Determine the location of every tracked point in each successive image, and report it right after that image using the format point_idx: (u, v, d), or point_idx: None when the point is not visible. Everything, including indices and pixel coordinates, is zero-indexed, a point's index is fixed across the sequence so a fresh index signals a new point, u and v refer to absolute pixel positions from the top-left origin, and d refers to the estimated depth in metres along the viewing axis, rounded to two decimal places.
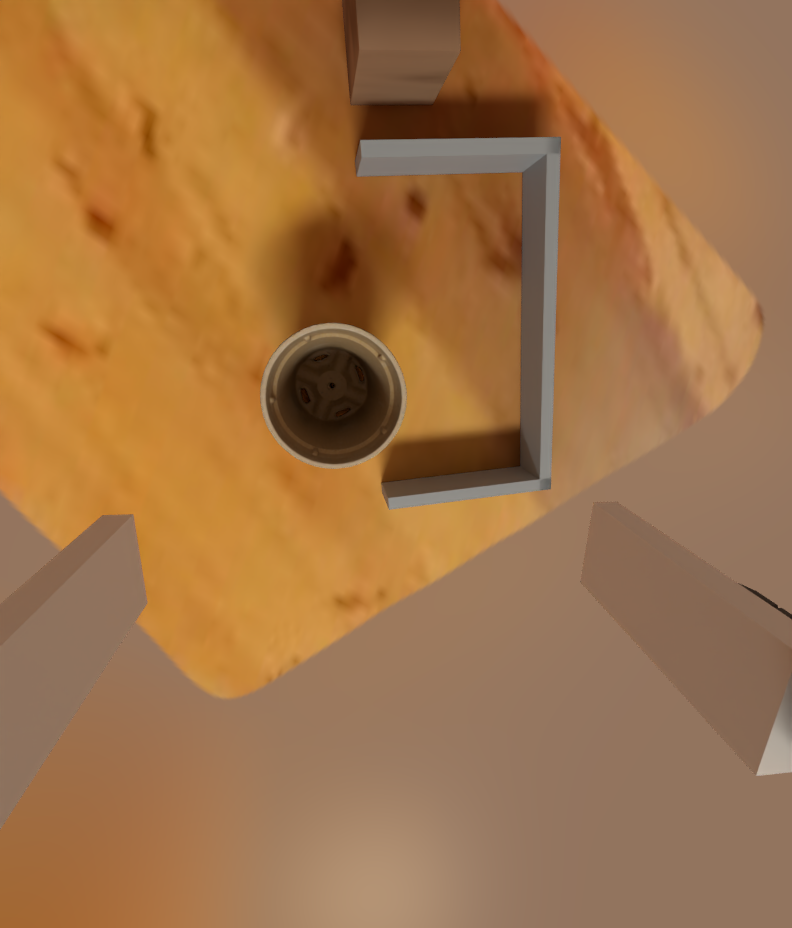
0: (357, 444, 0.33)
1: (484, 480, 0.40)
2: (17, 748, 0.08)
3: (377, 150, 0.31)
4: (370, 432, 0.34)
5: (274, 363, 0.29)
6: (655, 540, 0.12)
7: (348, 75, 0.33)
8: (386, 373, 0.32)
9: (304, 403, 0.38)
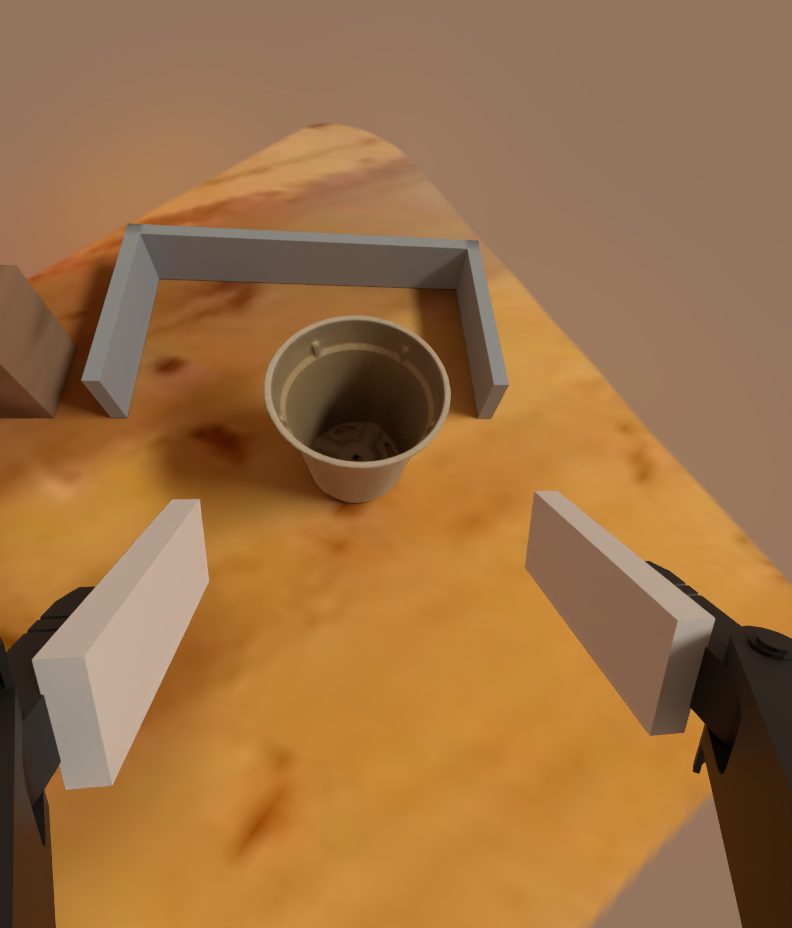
0: (422, 387, 0.26)
1: (471, 303, 0.35)
2: (132, 695, 0.09)
3: (96, 365, 0.28)
4: (408, 379, 0.27)
5: (307, 448, 0.22)
6: (581, 524, 0.12)
7: (24, 416, 0.30)
8: (336, 351, 0.27)
9: None
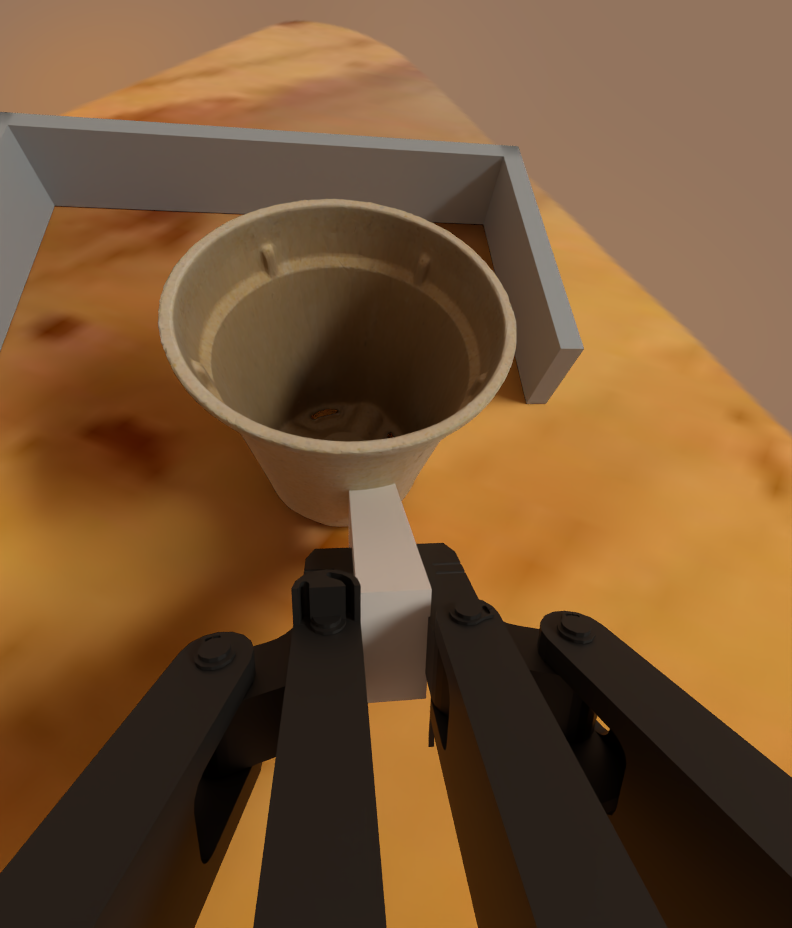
0: (454, 325, 0.15)
1: (511, 234, 0.24)
2: None
3: None
4: (428, 317, 0.16)
5: None
6: (386, 509, 0.13)
7: None
8: (306, 269, 0.16)
9: None
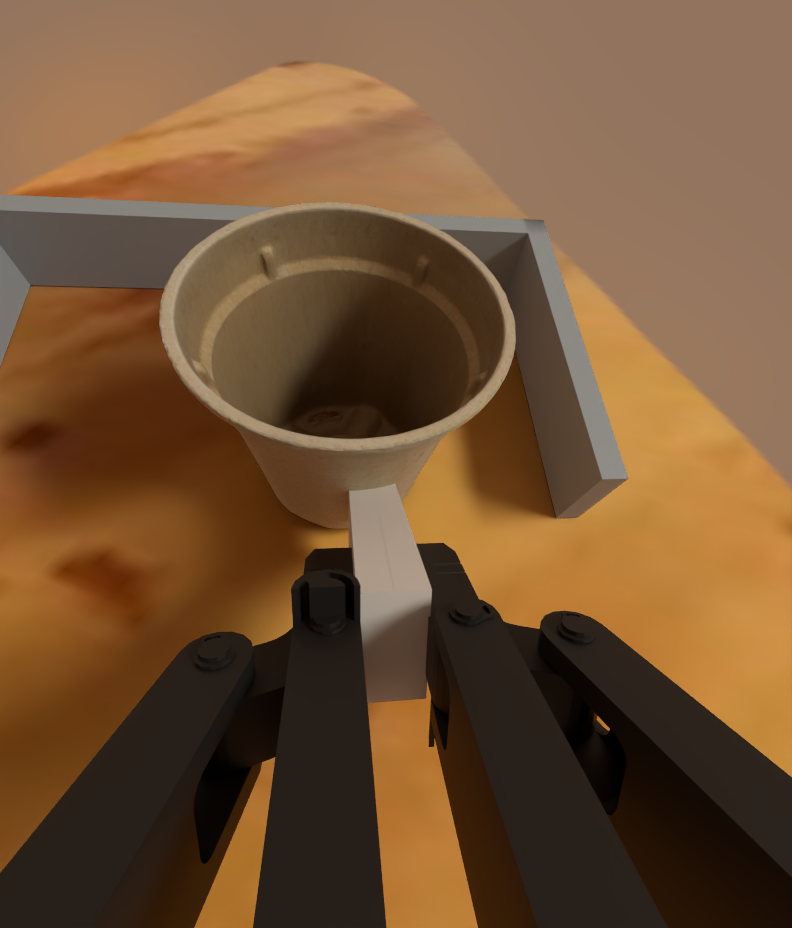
0: (452, 326, 0.16)
1: (537, 322, 0.22)
2: None
3: None
4: (427, 319, 0.17)
5: None
6: (386, 509, 0.13)
7: None
8: (305, 271, 0.16)
9: None
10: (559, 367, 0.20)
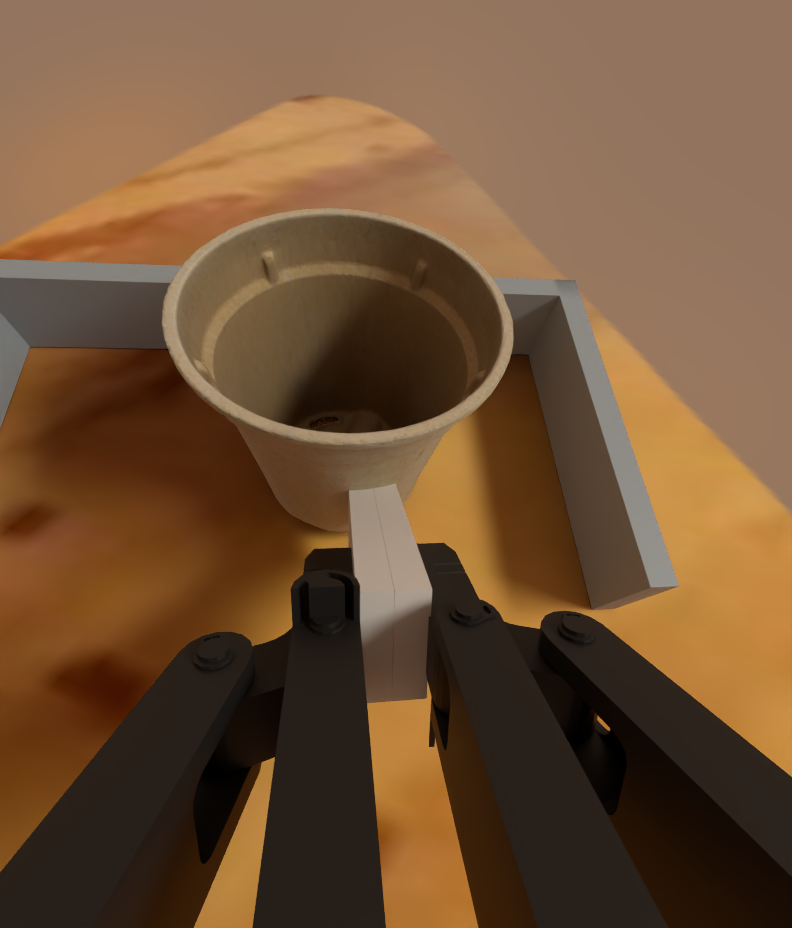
0: (451, 328, 0.16)
1: (570, 393, 0.20)
2: None
3: None
4: (426, 322, 0.17)
5: None
6: (386, 509, 0.13)
7: None
8: (305, 276, 0.16)
9: None
10: (597, 449, 0.18)
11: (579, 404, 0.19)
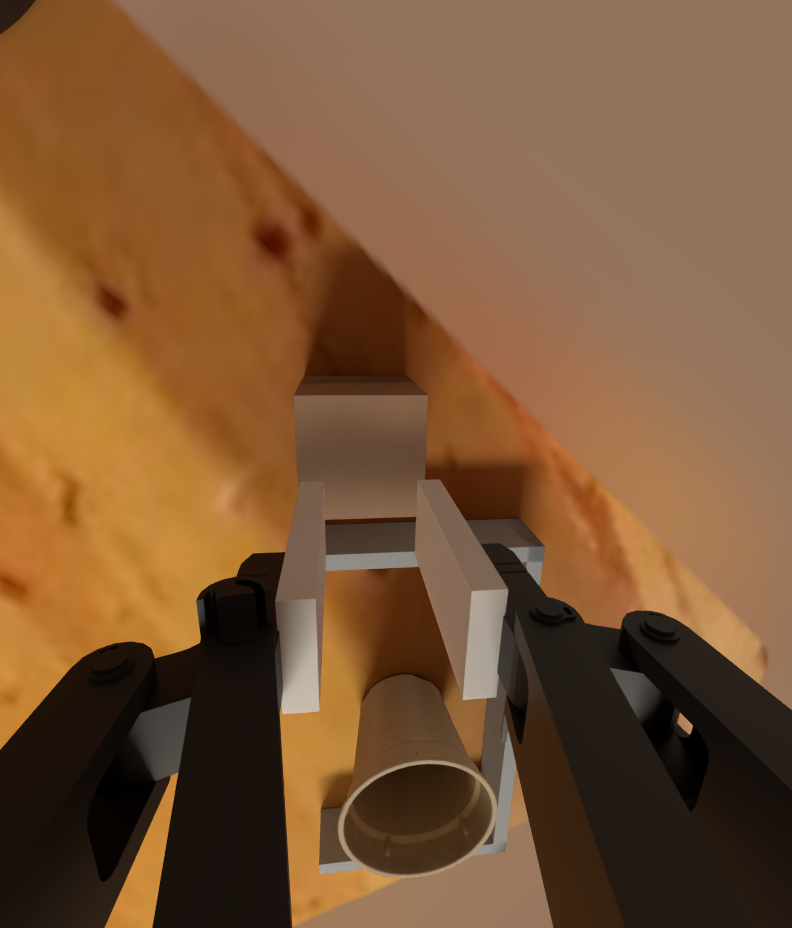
0: (433, 829, 0.30)
1: None
2: (320, 640, 0.10)
3: (326, 564, 0.26)
4: (447, 809, 0.31)
5: None
6: (441, 509, 0.13)
7: None
8: None
9: None
10: None
11: None
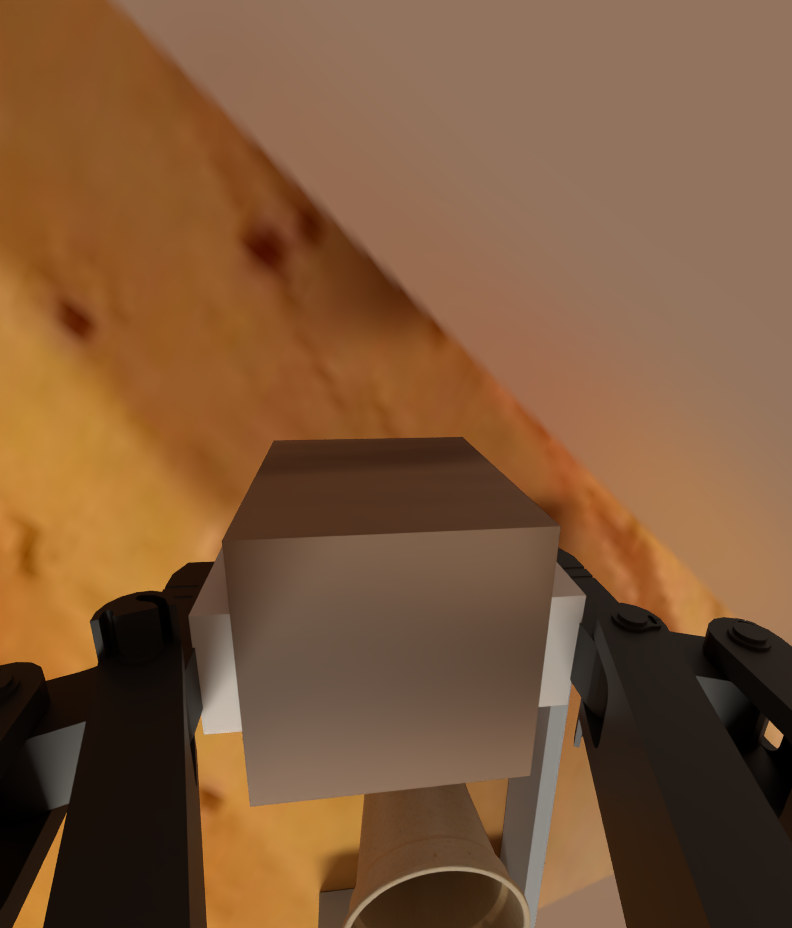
0: None
1: None
2: None
3: None
4: (467, 910, 0.26)
5: None
6: None
7: None
8: None
9: None
10: None
11: None
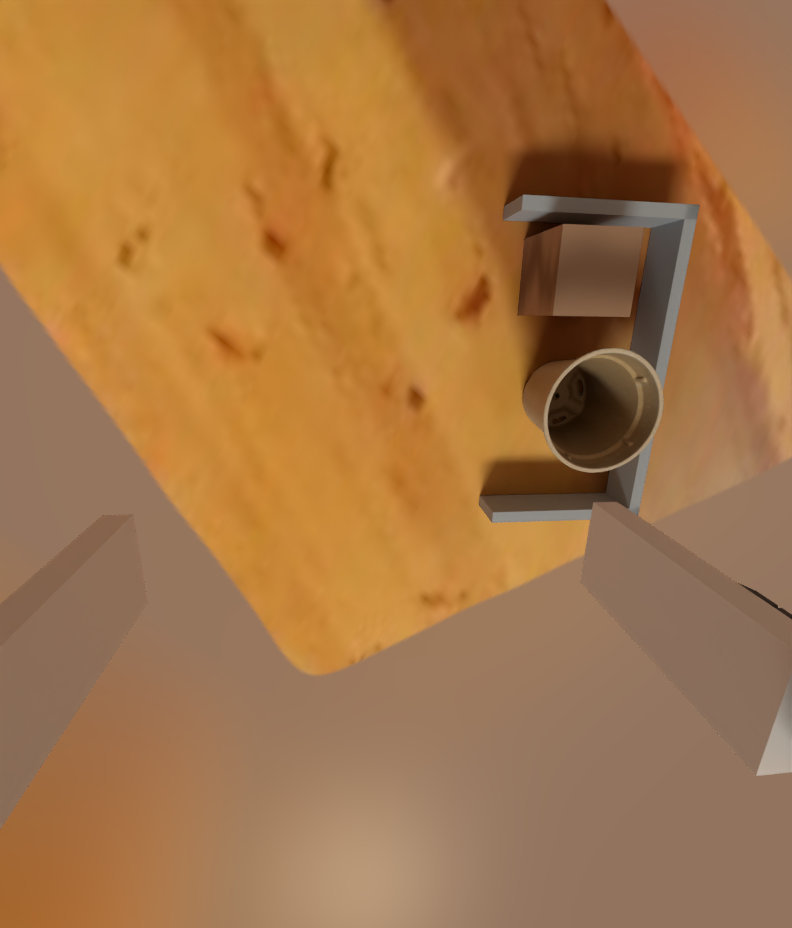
0: (599, 452, 0.38)
1: (577, 504, 0.44)
2: (17, 748, 0.08)
3: (536, 204, 0.34)
4: (608, 442, 0.39)
5: (561, 378, 0.34)
6: (655, 540, 0.12)
7: (520, 294, 0.40)
8: (638, 393, 0.37)
9: None
10: (548, 508, 0.43)
11: (570, 506, 0.43)
